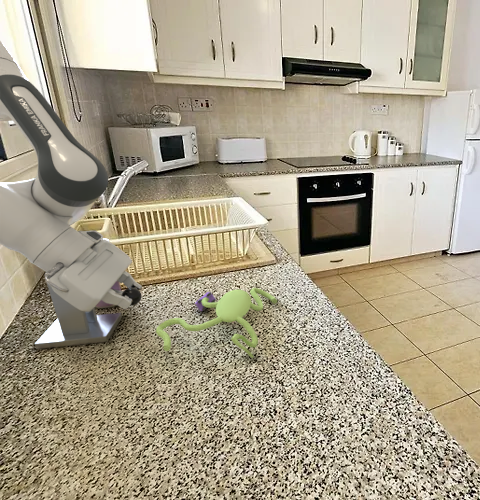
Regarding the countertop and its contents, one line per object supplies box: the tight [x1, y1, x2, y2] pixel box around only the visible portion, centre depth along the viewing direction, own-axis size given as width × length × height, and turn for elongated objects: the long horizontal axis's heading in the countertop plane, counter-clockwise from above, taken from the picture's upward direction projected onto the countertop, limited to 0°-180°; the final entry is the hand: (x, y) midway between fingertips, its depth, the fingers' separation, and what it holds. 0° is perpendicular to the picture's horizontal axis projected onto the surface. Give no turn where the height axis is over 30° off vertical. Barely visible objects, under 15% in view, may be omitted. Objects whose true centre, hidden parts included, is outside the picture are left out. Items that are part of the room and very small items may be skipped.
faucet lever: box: [112, 288, 142, 307], centre depth 73 cm, size 14×4×4 cm, turn 104°
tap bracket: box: [34, 283, 123, 350], centre depth 73 cm, size 12×9×13 cm
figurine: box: [155, 287, 278, 359], centre depth 78 cm, size 18×27×6 cm
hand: (134, 297), depth 75 cm, fingers open, 5 cm apart
